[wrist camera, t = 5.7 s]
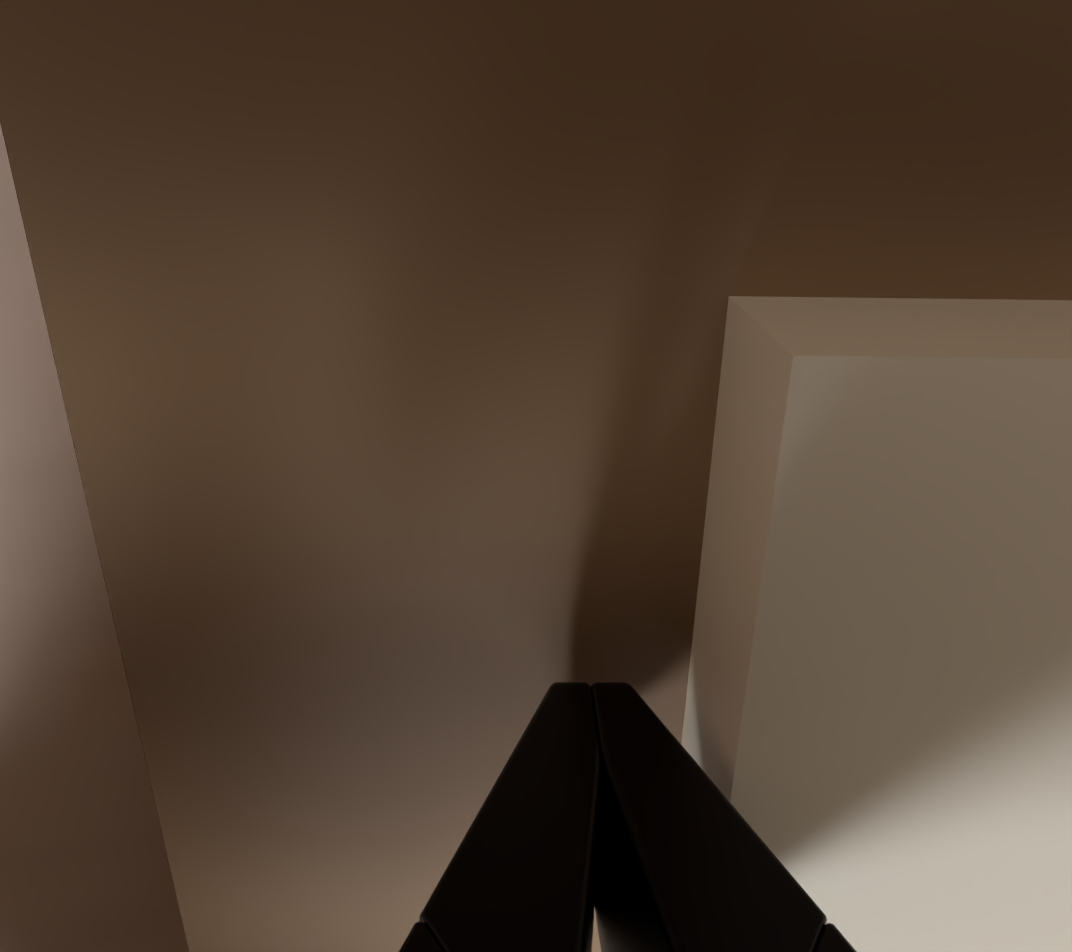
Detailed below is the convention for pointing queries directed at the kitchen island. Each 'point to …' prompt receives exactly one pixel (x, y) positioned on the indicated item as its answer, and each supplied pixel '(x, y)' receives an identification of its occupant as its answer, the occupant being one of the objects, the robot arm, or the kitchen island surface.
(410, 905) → the walnut deck
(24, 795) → the kitchen island surface
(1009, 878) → the cream rectangular block
